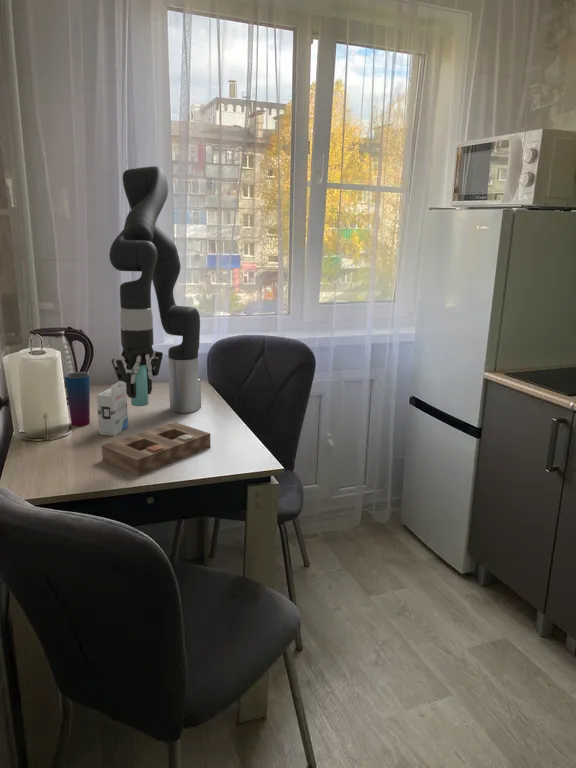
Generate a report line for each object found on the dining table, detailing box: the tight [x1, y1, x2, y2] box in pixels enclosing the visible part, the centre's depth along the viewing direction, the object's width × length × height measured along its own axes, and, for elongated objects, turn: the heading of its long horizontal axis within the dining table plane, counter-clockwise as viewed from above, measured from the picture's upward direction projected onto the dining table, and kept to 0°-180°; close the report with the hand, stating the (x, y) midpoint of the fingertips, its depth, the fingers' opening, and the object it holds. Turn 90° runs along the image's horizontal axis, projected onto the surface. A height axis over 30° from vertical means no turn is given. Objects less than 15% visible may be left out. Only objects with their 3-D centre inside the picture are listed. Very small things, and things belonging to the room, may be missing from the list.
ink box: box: [96, 380, 129, 437], centre depth 164 cm, size 9×5×15 cm, turn 168°
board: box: [101, 421, 211, 476], centre depth 149 cm, size 24×14×4 cm, turn 142°
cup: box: [64, 371, 91, 428], centre depth 169 cm, size 7×7×15 cm
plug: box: [130, 365, 149, 407], centre depth 141 cm, size 4×4×10 cm
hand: (139, 395), depth 142 cm, fingers closed on plug, 4 cm apart
